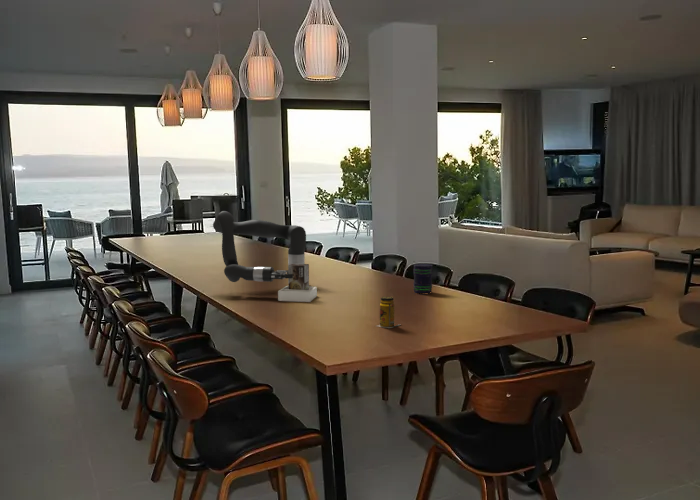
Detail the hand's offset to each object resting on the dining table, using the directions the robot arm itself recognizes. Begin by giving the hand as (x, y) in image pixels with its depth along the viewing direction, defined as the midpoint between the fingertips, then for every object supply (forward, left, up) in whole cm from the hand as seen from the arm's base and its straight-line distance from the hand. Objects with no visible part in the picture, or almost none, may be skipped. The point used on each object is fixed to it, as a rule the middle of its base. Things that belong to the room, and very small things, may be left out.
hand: (294, 275), depth 332 cm
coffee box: (0, +2, -11) cm, 11 cm away
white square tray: (+3, +2, -11) cm, 12 cm away
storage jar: (-25, +63, -12) cm, 69 cm away
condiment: (+55, +53, -12) cm, 77 cm away
